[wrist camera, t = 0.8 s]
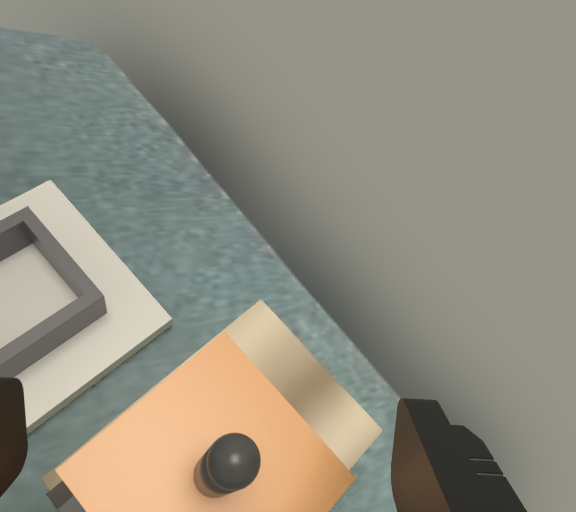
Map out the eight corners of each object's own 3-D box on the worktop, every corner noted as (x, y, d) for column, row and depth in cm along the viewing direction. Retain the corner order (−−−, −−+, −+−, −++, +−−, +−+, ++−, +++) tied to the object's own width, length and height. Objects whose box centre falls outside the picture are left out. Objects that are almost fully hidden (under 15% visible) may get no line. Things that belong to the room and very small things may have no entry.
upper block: (65, 488, 30) (32, 475, 21) (239, 341, 36) (267, 285, 28) (173, 631, 28) (185, 679, 19) (336, 448, 35) (398, 424, 26)
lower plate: (-150, 298, 32) (-192, 266, 28) (53, 191, 38) (43, 154, 34) (-24, 473, 29) (-50, 465, 25) (171, 326, 36) (174, 302, 32)
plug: (103, 496, 23) (20, 451, 8) (188, 421, 26) (246, 276, 10) (172, 586, 22) (225, 724, 7) (254, 499, 25) (421, 464, 10)
